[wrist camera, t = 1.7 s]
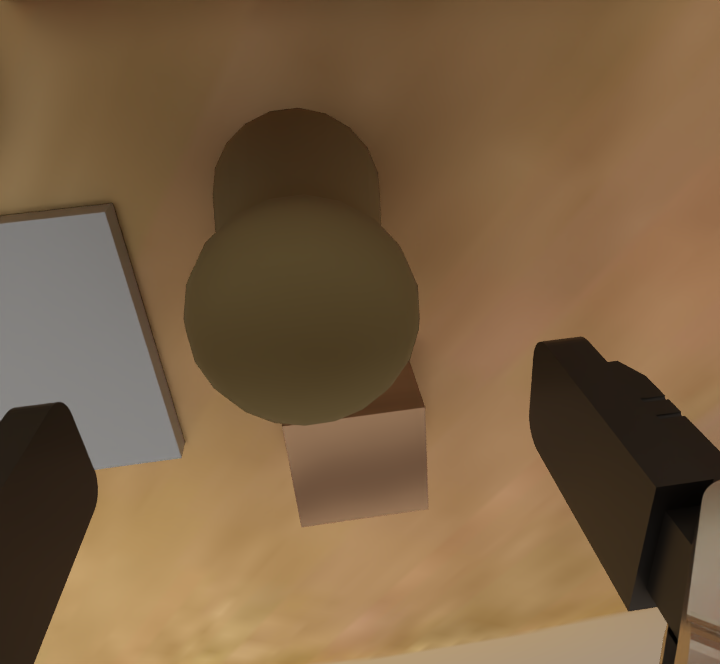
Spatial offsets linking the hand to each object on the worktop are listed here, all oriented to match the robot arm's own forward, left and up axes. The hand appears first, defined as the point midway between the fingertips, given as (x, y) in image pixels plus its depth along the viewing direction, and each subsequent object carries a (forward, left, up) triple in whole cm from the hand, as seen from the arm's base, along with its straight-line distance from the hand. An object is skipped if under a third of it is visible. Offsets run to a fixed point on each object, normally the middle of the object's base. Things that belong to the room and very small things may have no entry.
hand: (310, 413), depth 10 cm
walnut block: (+9, +1, -13) cm, 16 cm away
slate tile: (+5, -12, -13) cm, 18 cm away
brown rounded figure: (0, 0, -13) cm, 13 cm away
